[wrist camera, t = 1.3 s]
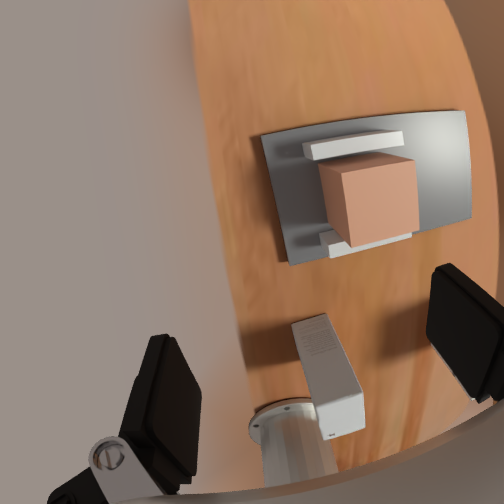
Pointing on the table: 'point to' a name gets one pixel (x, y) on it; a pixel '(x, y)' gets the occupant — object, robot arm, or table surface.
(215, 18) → the table surface
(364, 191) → the block
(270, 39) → the table surface
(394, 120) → the channel base
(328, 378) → the skincare box
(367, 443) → the table surface
